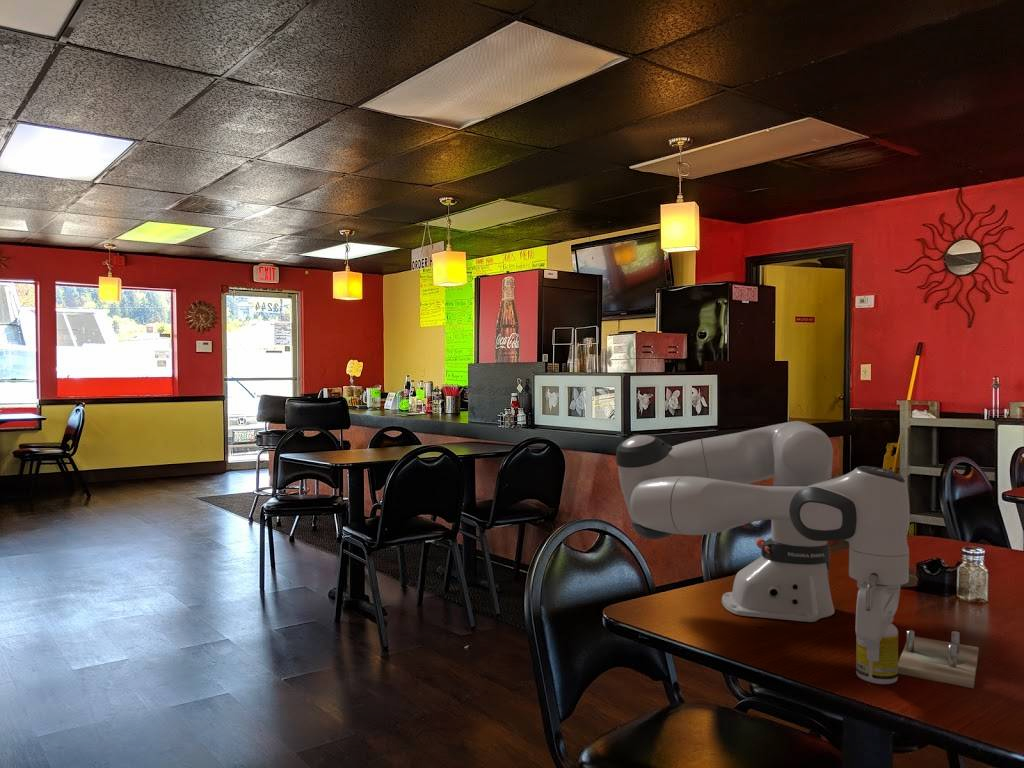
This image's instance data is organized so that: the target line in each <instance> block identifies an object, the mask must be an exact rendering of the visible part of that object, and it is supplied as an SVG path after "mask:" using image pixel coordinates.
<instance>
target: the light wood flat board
mask: <svg viewBox="0 0 1024 768" xmlns="http://www.w3.org/2000/svg"><path fill="white" fill-rule="evenodd" d="M906 644H907V641H905V645H904V647H903V650H902V652H901V654H900V657H899V658H898V675H904V676H909V677H913V678H919V679H924V680H928V681H934V682H938V683H945V684H949V685H954V686H959V687H960V686H961V687H965V688H969V689H970V688H971V689H974V688H975V682H976V681H975V680H976V674H977V666H978V659H979V647H978V646H972V645H967V644H966V645H965V644H961V643H959V654H957V656H956V667H949V666H948V644H951V642H949V641H944V640H938V639H931V638H926V637H921V636H915V635H914V652H907V651H906Z"/></svg>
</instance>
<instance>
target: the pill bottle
mask: <svg viewBox="0 0 1024 768" xmlns="http://www.w3.org/2000/svg"><path fill="white" fill-rule="evenodd" d="M866 610H867V609H866ZM867 611H870V610H867ZM893 622H894V616H893V612H892V611H890V613H889V625H888V628H887V630H886V632H885V634H884V635H883V637H882V639H881V641H880V659H879V661H877V662H874V661H869V660H868V659H867V658H866V655H867V649H866V644H865V640H863V639H859V638H857V636H855V637H856V638H855V640H856V641H855V642H856V643H855V644H856V645H855V646H856V650H855V652H856V653H855V656H856V657H855V673H856V675H857V677H859V679H861V680H863V681H865V682H868V683H871V684H877V685H891V684H895V683H896V682H897V681H898V678H899V674H898V661H899V630H898V628H897V627H896V626H895V624H893Z"/></svg>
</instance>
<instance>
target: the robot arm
mask: <svg viewBox="0 0 1024 768" xmlns="http://www.w3.org/2000/svg"><path fill="white" fill-rule="evenodd" d="M833 458H834V448H833V444H832V442H831V439H830V438H829V436H828V434H826V432H824V431H823V430H822V429H820V428H819V427H817V426H814V425H812V424H810V423H808V422H805V421H801V420H795V421H794V420H793V421H787V422H783V423H777V424H771V425H767V426H763V427H759V428H758V427H757V428H754V429H748V430H744V431H740V432H734V433H729V434H723V435H718V436H711V437H706V438H705V437H704V438H700V439H694V440H693V439H692V440H689V441H686V442H682V443H678V444H676V445H673V446H672V445H670V444H669V443H665V441H664V440H663V439H661V438H659V437H656V436H655V435H651V434H639V435H634V436H631V437H629V438H626V439H625V440H623V441H621V442H620V443H619V444H618V446H617V447H616V451H615V459H616V460H615V461H616V462H615V463H616V465H617V466H618V468H617V469H618V476H619V483H620V484H619V485H620V488H621V493H622V494H623V498H624V502H625V505H626V508H627V511H628V514H629V518H630V519H629V521H630V524H631V525H632V528H633V530H634V532H635V533H636V534H637V535H639V536H640V537H642V538H644V539H647V540H659V539H663V538H667V537H669V536H671V535H673V534H674V535H686V536H702V535H712V534H717V533H718V534H719V533H722V532H725V531H728V530H731V529H734V528H737V527H740V526H743V525H747V524H751V523H754V522H760V521H768V520H770V521H771V533H770V534H771V535H770V538H768V539H767V540H765V539H764V538H762V537H758V538H757V539H756V540H755V546H757V548H758V549H760V552H761V556H760V557H758V558H757V559H755V560H753V562H751V563H750V564H748V565H747V566H745V567H743V568H742V569H740V570H739V571H737V573H736V574H735V577H734V580H733V585H732V591H729V592H724V593H723V594H722V597H721V604H722V606H723V608H725V609H726V610H727V611H729V612H730V613H732V614H734V615H737V616H743V617H753V618H754V617H755V618H766V619H775V620H787V621H794V622H806V623H807V622H808V623H813V622H817V621H819V620H820V619H822V618H827V617H830V616H832V615H834V613H836V612H835V611H836V610H835V607H834V604H833V600H832V595H831V589H830V581H829V572H828V571H829V570H830V563H831V551H830V550H831V549H830V543H829V542H833V541H835V542H836V541H846V542H847V543H848V547H849V548H848V576H849V578H852V579H853V580H856V586H857V588H858V591H857V596H856V597H857V598H856V604H855V605H856V607H855V608H856V610H855V626H854V627H855V629H854V630H855V635H856V636H857V638H859V639H863V640H865V644H866V649H867V655H866V658H867V659H868V660H869V661H874V662H877V661H879V659H880V641H881V639H882V637H883V635H884V634H885V632H886V630H887V628H888V625H889V613H890V611H892V612H893V617H894V616H895V614H896V612H897V610H898V607H899V601H900V595H901V588H902V587H901V585H903V584H906V583H908V581H909V568H910V548H909V544H908V533H909V529H910V524H911V522H910V521H911V520H910V519H911V515H910V512H911V511H910V497H909V489H908V485H907V482H906V480H905V478H903V476H902V475H900V474H899V473H896V472H895V471H892V470H891V469H888V468H882V467H877V466H870V465H861V466H857V467H855V468H854V469H853V470H852V471H850V472H848V473H846V474H842V475H837V476H836V475H835V476H834V477H832V473H833V460H834V459H833ZM771 478H773V485H754V484H752V483H756V482H757V483H758V482H759V481H760V482H761V481H764V480H768V479H771ZM866 609H867V610H870V611H867V610H866ZM856 636H855V637H856Z"/></svg>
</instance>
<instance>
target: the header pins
mask: <svg viewBox="0 0 1024 768" xmlns="http://www.w3.org/2000/svg"><path fill="white" fill-rule="evenodd" d="M914 636H915V631H914V630H912V629H907V630H906V642H907V644H906V643H905V644H906V651H907V652H914ZM960 636H961V635H960V632H959V631H957V630H956V631H955V630H952V631H951V642H950V643H951V644H948V666H949V667H956V656H957V654H959V644H960Z"/></svg>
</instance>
